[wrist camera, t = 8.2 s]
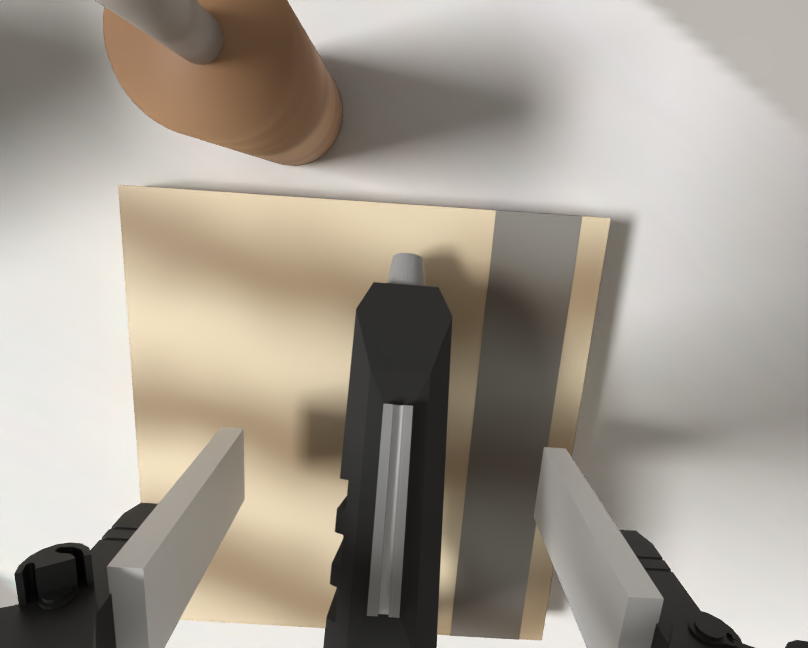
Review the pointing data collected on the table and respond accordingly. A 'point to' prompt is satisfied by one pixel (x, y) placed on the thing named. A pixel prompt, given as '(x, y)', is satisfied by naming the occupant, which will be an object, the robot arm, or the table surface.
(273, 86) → the awl
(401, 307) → the gun
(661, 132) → the table surface
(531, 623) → the board
